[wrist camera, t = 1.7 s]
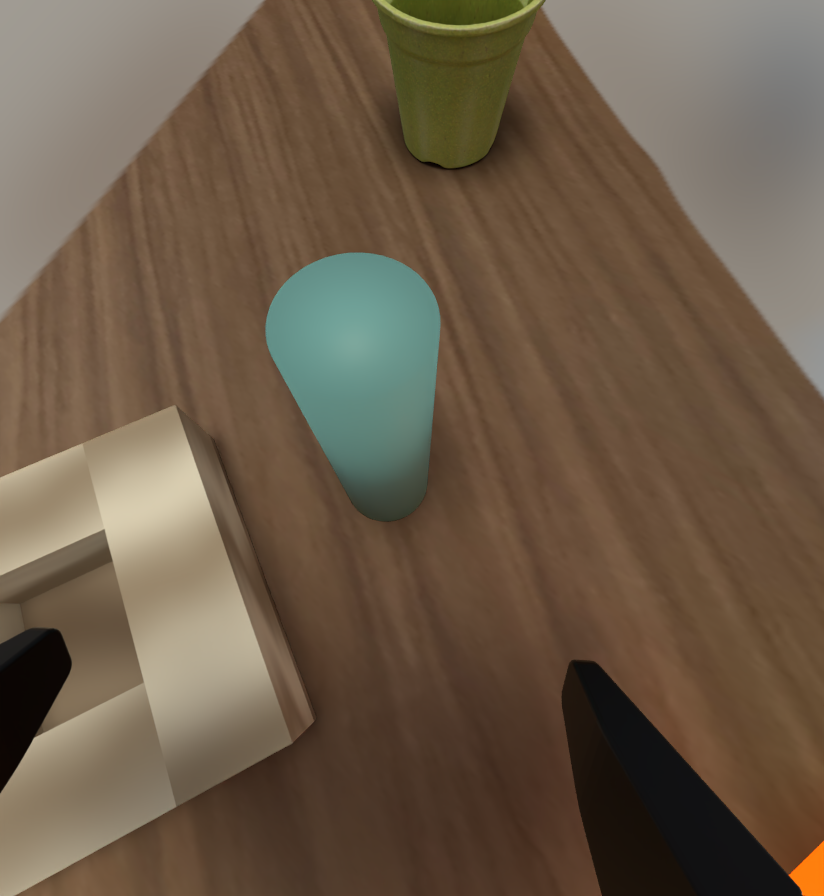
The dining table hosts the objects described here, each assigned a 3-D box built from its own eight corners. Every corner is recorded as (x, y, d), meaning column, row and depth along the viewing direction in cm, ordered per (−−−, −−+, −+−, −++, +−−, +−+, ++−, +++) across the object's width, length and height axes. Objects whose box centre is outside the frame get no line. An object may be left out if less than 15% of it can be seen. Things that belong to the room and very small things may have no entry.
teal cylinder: (441, 498, 22) (471, 355, 10) (366, 535, 22) (303, 429, 10) (405, 431, 24) (393, 230, 11) (333, 464, 23) (241, 290, 11)
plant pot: (415, 208, 29) (415, 48, 21) (357, 116, 32) (337, -55, 24) (543, 161, 30) (590, -6, 22) (475, 77, 33) (495, -97, 25)
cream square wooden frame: (316, 718, 19) (292, 742, 15) (-33, 909, 17) (-160, 991, 13) (213, 439, 24) (175, 404, 20) (-74, 563, 21) (-178, 551, 18)
